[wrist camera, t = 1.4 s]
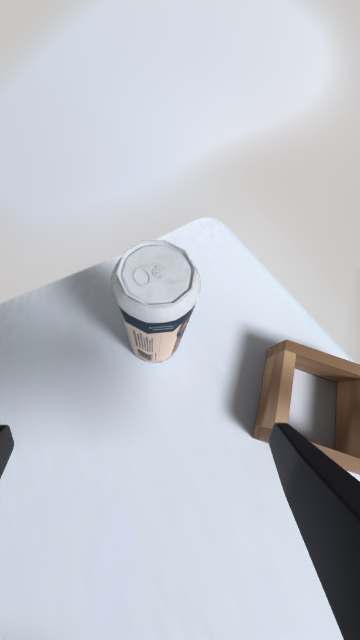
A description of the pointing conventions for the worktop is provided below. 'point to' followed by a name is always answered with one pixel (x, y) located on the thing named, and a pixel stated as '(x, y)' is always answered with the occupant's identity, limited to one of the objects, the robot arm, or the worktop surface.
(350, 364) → the socket block
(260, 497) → the worktop surface
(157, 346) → the beer can
